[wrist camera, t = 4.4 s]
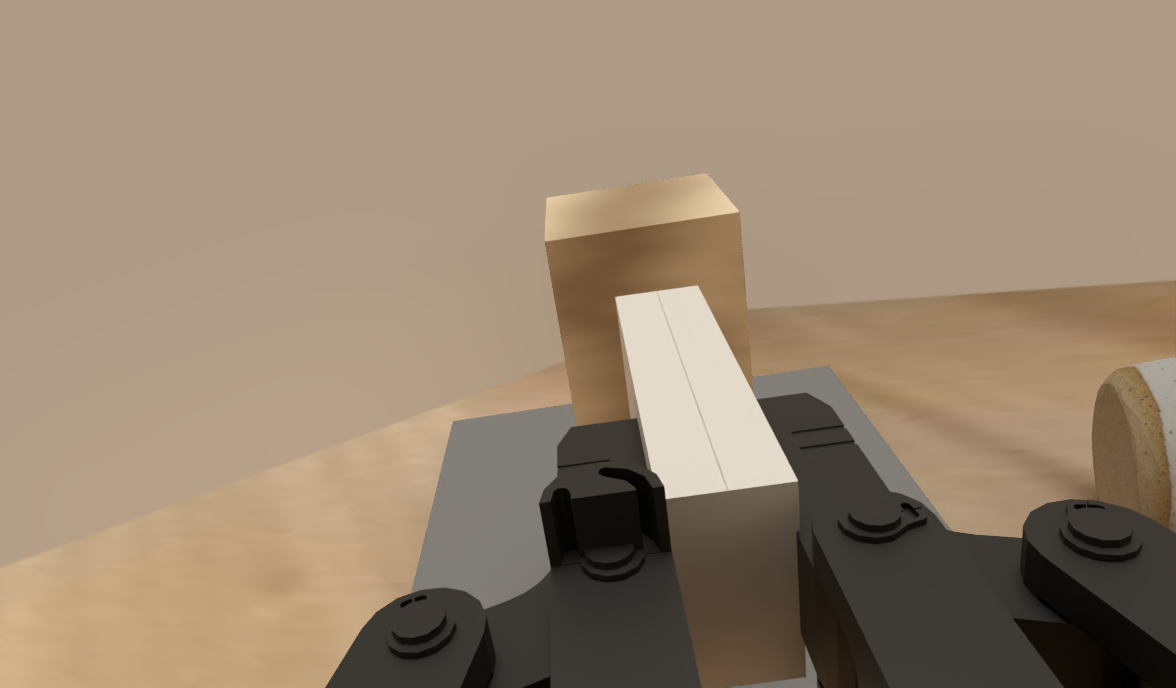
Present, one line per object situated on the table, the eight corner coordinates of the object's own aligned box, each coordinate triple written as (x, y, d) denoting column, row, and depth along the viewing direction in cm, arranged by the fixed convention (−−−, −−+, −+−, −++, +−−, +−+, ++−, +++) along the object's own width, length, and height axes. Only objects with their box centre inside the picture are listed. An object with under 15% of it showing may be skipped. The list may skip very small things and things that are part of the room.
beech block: (739, 543, 31) (706, 173, 25) (771, 638, 26) (739, 211, 21) (607, 561, 31) (546, 197, 26) (617, 660, 26) (544, 241, 21)
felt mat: (829, 382, 44) (828, 365, 43) (1068, 717, 23) (1071, 690, 23) (457, 437, 44) (452, 421, 44) (372, 812, 24) (364, 788, 23)
